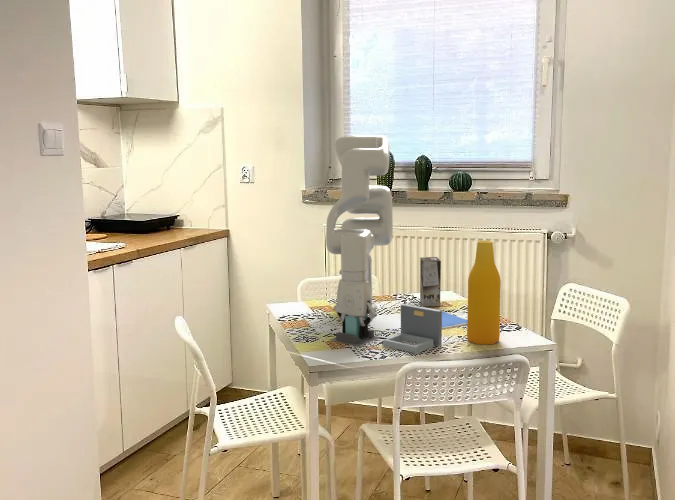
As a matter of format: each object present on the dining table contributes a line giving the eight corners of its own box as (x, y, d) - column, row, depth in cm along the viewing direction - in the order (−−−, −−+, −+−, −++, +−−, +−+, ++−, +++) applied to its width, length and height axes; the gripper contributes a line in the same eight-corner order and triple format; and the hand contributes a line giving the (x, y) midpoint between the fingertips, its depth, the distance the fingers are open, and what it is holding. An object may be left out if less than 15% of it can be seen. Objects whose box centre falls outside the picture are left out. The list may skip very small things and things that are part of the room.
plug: (345, 339, 200) (345, 312, 199) (354, 335, 203) (353, 309, 202) (356, 341, 197) (356, 314, 196) (364, 338, 200) (364, 311, 199)
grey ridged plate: (328, 341, 200) (328, 332, 199) (352, 332, 208) (352, 324, 208) (358, 347, 193) (358, 339, 192) (381, 338, 201) (381, 330, 201)
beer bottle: (505, 340, 198) (508, 241, 193) (486, 347, 192) (488, 245, 187) (479, 333, 205) (481, 238, 200) (460, 340, 199) (461, 241, 194)
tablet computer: (473, 325, 216) (473, 321, 216) (441, 331, 210) (442, 327, 210) (436, 312, 233) (436, 308, 232) (406, 317, 227) (406, 313, 226)
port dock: (380, 346, 194) (380, 312, 192) (403, 336, 203) (403, 303, 201) (419, 354, 186) (419, 319, 184) (441, 344, 195) (441, 310, 193)
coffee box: (440, 306, 238) (441, 260, 236) (422, 306, 238) (422, 261, 236) (437, 300, 247) (437, 256, 245) (419, 300, 247) (419, 256, 245)
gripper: (323, 274, 200) (324, 334, 203) (370, 281, 189) (370, 344, 192) (339, 270, 205) (340, 328, 208) (386, 277, 195) (386, 338, 198)
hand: (355, 335), depth 200 cm, fingers open, 5 cm apart
